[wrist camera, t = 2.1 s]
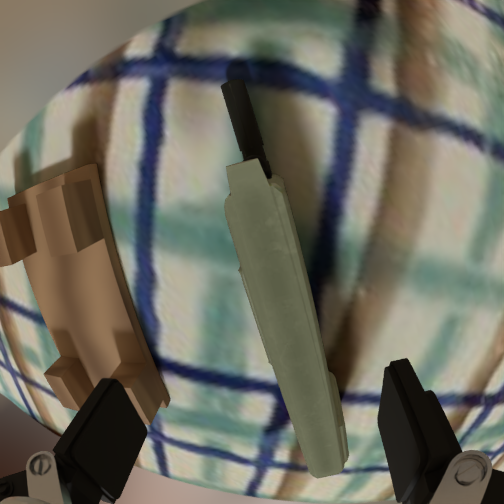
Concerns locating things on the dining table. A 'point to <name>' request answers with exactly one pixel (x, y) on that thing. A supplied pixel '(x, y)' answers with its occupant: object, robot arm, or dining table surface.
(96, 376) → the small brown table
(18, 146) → the dining table surface
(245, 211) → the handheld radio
